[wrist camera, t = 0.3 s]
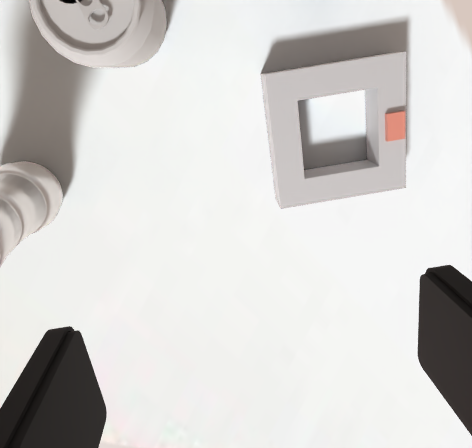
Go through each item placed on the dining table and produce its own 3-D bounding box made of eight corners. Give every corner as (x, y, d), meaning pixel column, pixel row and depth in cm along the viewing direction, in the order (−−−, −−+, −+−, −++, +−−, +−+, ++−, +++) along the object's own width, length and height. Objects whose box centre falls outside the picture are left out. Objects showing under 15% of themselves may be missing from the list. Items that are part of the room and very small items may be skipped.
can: (133, -52, 32) (97, -113, 21) (184, 38, 35) (176, 24, 24) (58, 1, 33) (-15, -32, 22) (113, 84, 36) (72, 92, 25)
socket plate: (260, 74, 37) (266, 74, 33) (390, 52, 37) (409, 51, 34) (275, 199, 41) (281, 210, 38) (392, 179, 41) (408, 189, 38)
